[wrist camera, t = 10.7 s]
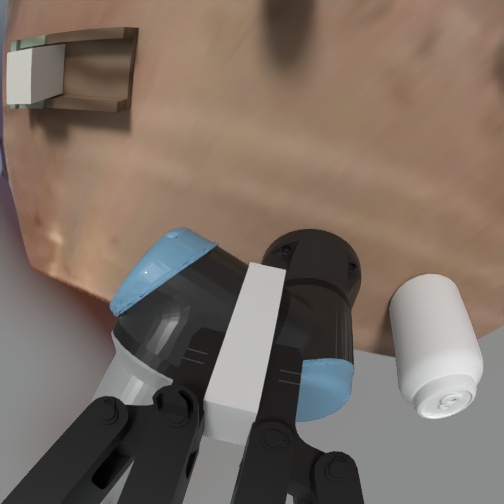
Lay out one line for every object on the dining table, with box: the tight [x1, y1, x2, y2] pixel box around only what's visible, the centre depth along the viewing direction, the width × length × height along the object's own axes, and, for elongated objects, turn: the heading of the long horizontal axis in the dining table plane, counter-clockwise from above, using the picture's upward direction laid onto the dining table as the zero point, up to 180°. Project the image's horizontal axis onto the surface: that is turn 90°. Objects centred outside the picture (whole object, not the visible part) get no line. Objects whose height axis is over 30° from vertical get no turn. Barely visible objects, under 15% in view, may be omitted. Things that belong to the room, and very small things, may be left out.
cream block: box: [7, 44, 65, 104], centre depth 33 cm, size 8×6×7 cm
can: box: [389, 274, 483, 419], centre depth 39 cm, size 12×12×20 cm
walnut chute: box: [10, 27, 138, 113], centre depth 35 cm, size 12×22×4 cm, turn 79°
